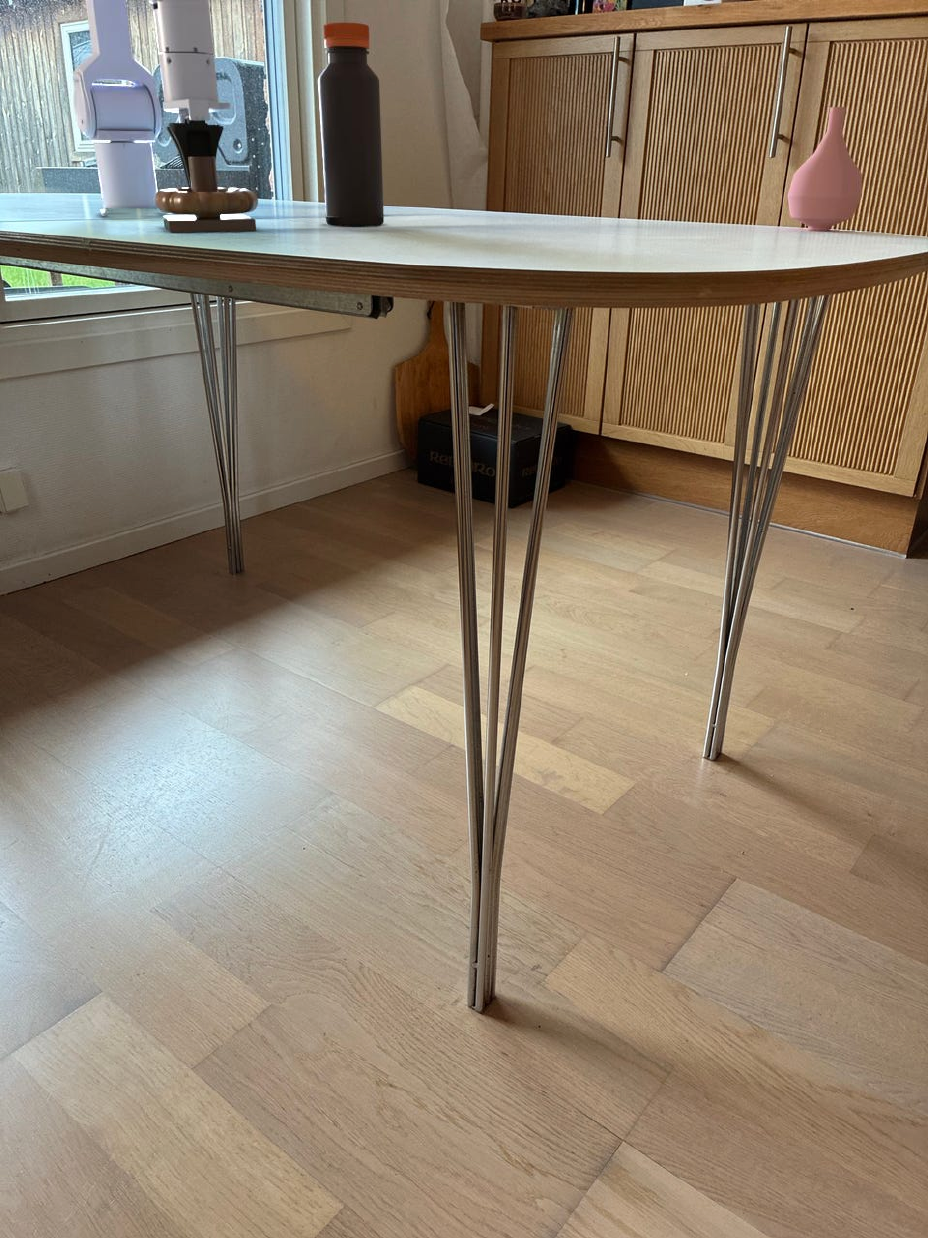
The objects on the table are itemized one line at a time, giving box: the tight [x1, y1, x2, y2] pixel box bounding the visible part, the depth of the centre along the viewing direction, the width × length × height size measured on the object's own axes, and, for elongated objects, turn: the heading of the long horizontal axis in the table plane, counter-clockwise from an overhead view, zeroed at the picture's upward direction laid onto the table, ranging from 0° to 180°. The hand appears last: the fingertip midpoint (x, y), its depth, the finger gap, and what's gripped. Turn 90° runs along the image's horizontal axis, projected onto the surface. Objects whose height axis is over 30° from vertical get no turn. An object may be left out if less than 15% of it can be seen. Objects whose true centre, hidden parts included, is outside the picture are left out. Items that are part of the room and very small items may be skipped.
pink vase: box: [787, 106, 863, 232], centre depth 102 cm, size 8×8×12 cm
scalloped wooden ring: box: [155, 187, 259, 216], centre depth 103 cm, size 11×11×2 cm
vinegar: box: [317, 22, 385, 228], centre depth 106 cm, size 7×7×20 cm
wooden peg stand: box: [162, 157, 257, 234], centre depth 102 cm, size 9×9×7 cm
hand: (202, 195), depth 106 cm, fingers closed on scalloped wooden ring, 2 cm apart
